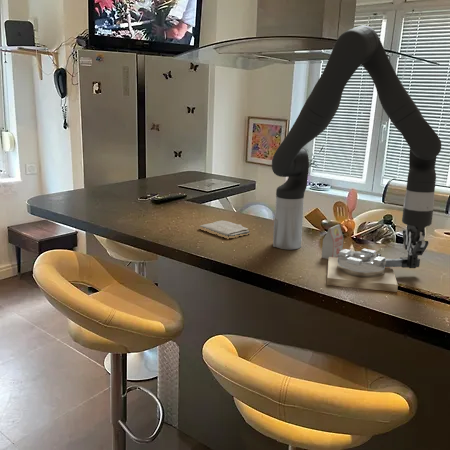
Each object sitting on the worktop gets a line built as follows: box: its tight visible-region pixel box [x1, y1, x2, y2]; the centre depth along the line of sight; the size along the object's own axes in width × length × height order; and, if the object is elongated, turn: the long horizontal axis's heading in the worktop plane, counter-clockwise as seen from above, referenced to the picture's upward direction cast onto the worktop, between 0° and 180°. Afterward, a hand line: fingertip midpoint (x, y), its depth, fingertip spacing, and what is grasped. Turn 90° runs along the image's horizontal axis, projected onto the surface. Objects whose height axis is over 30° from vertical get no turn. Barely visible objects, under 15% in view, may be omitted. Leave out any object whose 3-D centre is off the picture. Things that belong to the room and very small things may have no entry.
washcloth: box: [199, 219, 251, 237], centre depth 172 cm, size 12×18×3 cm, turn 42°
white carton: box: [321, 224, 344, 260], centre depth 146 cm, size 4×7×10 cm, turn 140°
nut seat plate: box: [326, 257, 399, 293], centre depth 130 cm, size 18×18×2 cm
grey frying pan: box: [337, 248, 421, 277], centre depth 130 cm, size 24×13×4 cm, turn 97°
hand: (411, 267), depth 128 cm, fingers closed
